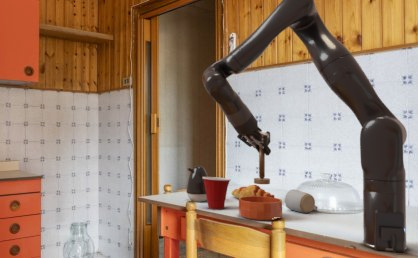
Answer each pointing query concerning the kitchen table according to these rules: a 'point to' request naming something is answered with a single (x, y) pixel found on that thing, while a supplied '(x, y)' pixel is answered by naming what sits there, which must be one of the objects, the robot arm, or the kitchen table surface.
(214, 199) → the plastic cup
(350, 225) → the kitchen table surface
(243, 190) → the croissant
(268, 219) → the bowl
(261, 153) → the wooden peg stand
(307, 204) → the ceramic mug
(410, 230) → the kitchen table surface
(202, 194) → the pump dispenser
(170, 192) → the kitchen table surface
